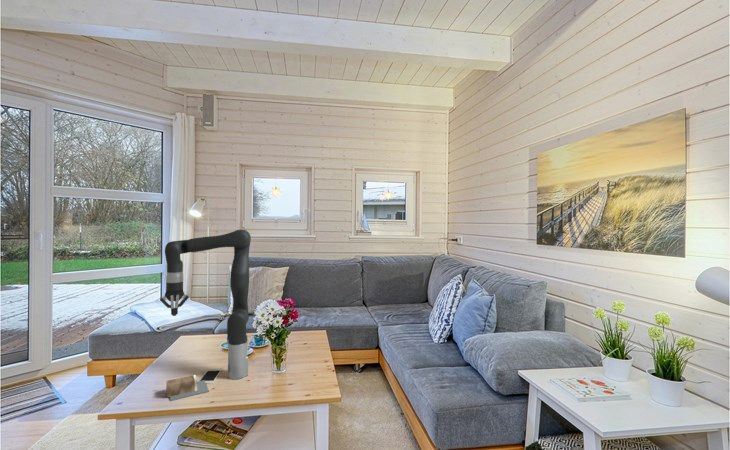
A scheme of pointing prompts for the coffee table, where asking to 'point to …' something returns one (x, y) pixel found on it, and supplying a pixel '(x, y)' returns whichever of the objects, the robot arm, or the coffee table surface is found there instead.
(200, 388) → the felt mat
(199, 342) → the coffee table surface
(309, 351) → the coffee table surface
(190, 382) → the brown wooden block
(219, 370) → the smartphone
